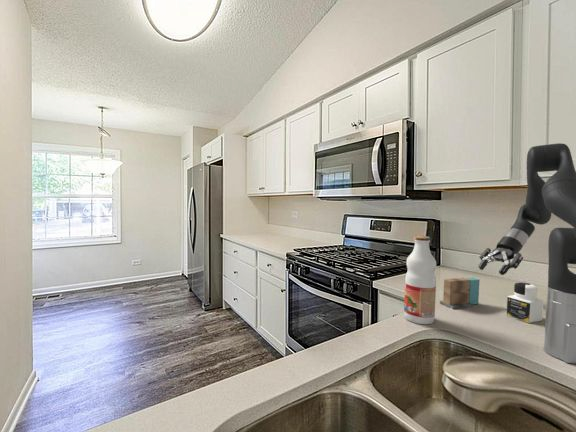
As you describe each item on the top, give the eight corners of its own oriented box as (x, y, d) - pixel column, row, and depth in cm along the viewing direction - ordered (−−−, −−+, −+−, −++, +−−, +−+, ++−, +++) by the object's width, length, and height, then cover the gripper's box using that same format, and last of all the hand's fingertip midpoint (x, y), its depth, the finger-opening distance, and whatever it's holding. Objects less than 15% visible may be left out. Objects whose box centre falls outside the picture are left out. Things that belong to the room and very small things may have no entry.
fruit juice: (435, 327, 91) (439, 239, 90) (403, 321, 95) (406, 237, 93) (433, 316, 100) (437, 236, 98) (404, 312, 103) (407, 234, 102)
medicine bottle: (505, 315, 102) (507, 282, 101) (519, 313, 104) (521, 280, 104) (528, 323, 95) (530, 287, 95) (542, 320, 98) (544, 285, 97)
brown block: (458, 301, 116) (460, 276, 115) (472, 306, 110) (473, 280, 109) (439, 303, 113) (441, 278, 112) (452, 309, 107) (453, 282, 107)
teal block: (471, 301, 116) (472, 277, 115) (478, 303, 113) (479, 279, 112) (462, 301, 114) (463, 278, 114) (469, 304, 111) (470, 280, 111)
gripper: (491, 233, 124) (469, 261, 121) (527, 237, 111) (503, 268, 108) (499, 245, 126) (478, 273, 123) (536, 251, 112) (512, 281, 110)
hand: (490, 271), depth 116 cm, fingers open, 8 cm apart
